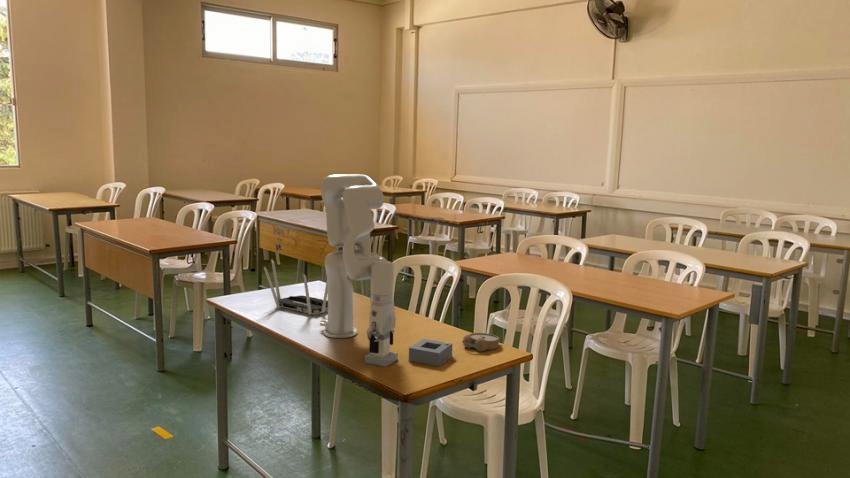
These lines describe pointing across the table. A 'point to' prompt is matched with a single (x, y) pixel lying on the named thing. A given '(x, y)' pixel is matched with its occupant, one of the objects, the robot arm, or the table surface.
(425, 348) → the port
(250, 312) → the table surface
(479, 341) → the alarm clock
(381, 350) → the plug
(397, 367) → the table surface
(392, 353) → the light grey square frame
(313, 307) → the wireless router
